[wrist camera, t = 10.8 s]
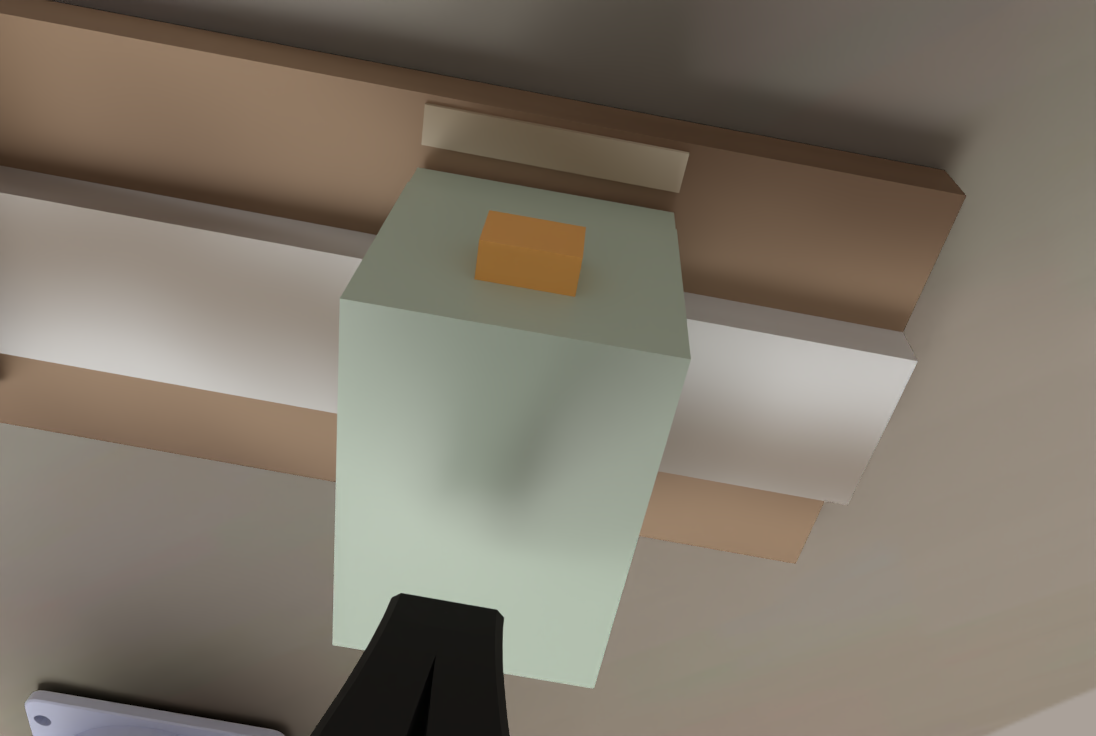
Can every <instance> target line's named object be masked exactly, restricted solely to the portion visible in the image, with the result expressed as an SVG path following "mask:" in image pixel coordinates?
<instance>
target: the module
mask: <svg viewBox="0 0 1096 736" xmlns="http://www.w3.org/2000/svg"><path fill="white" fill-rule="evenodd" d="M690 361H691V355H690V346H689V337H688V328H687V318H686V309H685V300H684V291H683V282H682V273H681V263H680V254H679V245H678V236H677V229H676V227H675V217H674V213H673V212H668V211H662V210H656V209H651V208H645V207H639V206H634V205H628V204H622V203H617V202H611V201H605V200H600V199H594V198H588V197H583V196H577V195H571V194H566V193H560V192H554V191H549V190H543V189H538V188H532V187H526V186H521V185H515V184H509V183H504V182H498V181H492V180H487V179H481V178H475V177H470V176H464V175H458V174H453V173H447V172H441V171H436V170H430V169H424V168H419V167H418V168H417V169H416V171H415V173H414V175H413V176H412V178H411V180H410V181H409V182H407V184H406V186H405V188H404V189H403V191H402V193H401V194H400V196H399V198H398V200H397V201H396V203H395V205H394V206H393V208H392V210H391V211H390V213H389V215H388V217H387V218H386V220H385V222H384V223H383V225H382V227H381V229H380V230H379V232H378V234H377V235H376V237H375V239H374V241H373V242H372V244H371V246H370V247H369V249H368V251H367V253H366V254H365V256H364V258H363V259H362V261H361V263H360V265H359V266H358V268H357V270H356V271H355V273H354V275H353V276H352V278H351V280H350V282H349V283H348V285H347V287H346V288H345V290H344V292H343V294H342V295H341V297H340V305H339V353H338V401H337V450H336V498H335V546H334V594H333V642H332V645H335V646H341V647H347V648H353V649H359V650H365V649H366V648H367V646H368V644H369V642H370V641H371V639H372V637H373V635H374V633H375V631H376V629H377V627H378V625H379V624H380V622H381V620H382V618H383V616H384V614H385V611H386V609H387V607H388V604H389V602H390V600H391V598H392V597H394V596H396V595H398V594H400V593H405V594H411V595H416V596H422V597H428V598H433V599H439V600H445V601H451V602H456V603H462V604H468V605H474V606H479V607H485V608H491V609H496V610H498V611H499V612H500V613H501V615H502V616H503V617H504V625H503V674H509V675H515V676H521V677H527V678H533V679H539V680H545V681H551V682H557V683H563V684H569V685H575V686H581V687H587V688H593V689H594V686H595V683H596V679H597V676H598V673H599V669H600V666H601V663H602V659H603V656H604V652H605V649H606V646H607V642H608V639H609V635H610V632H611V629H612V625H613V622H614V619H615V615H616V612H617V608H618V605H619V602H620V598H621V595H622V591H623V588H624V585H625V581H626V578H627V574H628V571H629V568H630V564H631V561H632V558H633V554H634V551H635V547H636V544H637V541H638V537H639V534H640V530H641V527H642V524H643V520H644V517H645V514H646V510H647V507H648V503H649V500H650V497H651V493H652V490H653V486H654V483H655V480H656V476H657V473H658V469H659V466H660V463H661V459H662V456H663V453H664V449H665V446H666V442H667V439H668V436H669V432H670V429H671V425H672V422H673V419H674V415H675V412H676V409H677V405H678V402H679V398H680V395H681V392H682V388H683V385H684V381H685V378H686V375H687V371H688V368H689V364H690Z"/></svg>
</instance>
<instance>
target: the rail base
mask: <svg viewBox="0 0 1096 736" xmlns="http://www.w3.org/2000/svg"><path fill="white" fill-rule="evenodd" d="M418 167H419V168H424V169H430V170H436V171H441V172H447V173H453V174H458V175H464V176H470V177H475V178H481V179H487V180H492V181H498V182H504V183H509V184H515V185H521V186H526V187H532V188H538V189H543V190H549V191H554V192H560V193H566V194H571V195H577V196H583V197H588V198H594V199H600V200H605V201H611V202H617V203H622V204H628V205H634V206H639V207H645V208H651V209H656V210H662V211H668V212H673V213H674V217H675V227H676V229H677V236H678V245H679V254H680V263H681V273H682V282H683V291H684V300H685V309H686V318H687V328H688V337H689V346H690V355H691V361H690V364H689V368H688V371H687V375H686V378H685V381H684V385H683V388H682V392H681V395H680V398H679V402H678V405H677V409H676V412H675V415H674V419H673V422H672V425H671V429H670V432H669V436H668V439H667V442H666V446H665V449H664V453H663V456H662V459H661V463H660V466H659V469H658V473H657V476H656V480H655V483H654V486H653V490H652V493H651V497H650V500H649V503H648V507H647V510H646V514H645V517H644V520H643V524H642V527H641V530H640V534H639V536H642V537H648V538H654V539H659V540H665V541H670V542H676V543H682V544H687V545H693V546H699V547H704V548H710V549H716V550H721V551H727V552H732V553H738V554H744V555H749V556H755V557H761V558H766V559H772V560H777V561H783V562H789V563H794V564H796V562H797V560H798V557H799V555H800V553H801V551H802V549H803V547H804V544H805V542H806V540H807V538H808V536H809V534H810V532H811V529H812V527H813V525H814V523H815V521H816V519H817V516H818V514H819V512H820V510H821V508H822V506H823V503H824V501H827V502H832V503H838V504H843V505H848V504H849V502H850V500H851V498H852V496H853V494H854V492H855V489H856V487H857V485H858V483H859V481H860V479H861V477H862V475H863V473H864V471H865V469H866V467H867V465H868V463H869V461H870V459H871V457H872V454H873V452H874V450H875V448H876V446H877V444H878V442H879V440H880V438H881V436H882V434H883V432H884V430H885V428H886V426H887V424H888V422H889V419H890V417H891V415H892V413H893V411H894V409H895V407H896V405H897V403H898V401H899V399H900V397H901V395H902V393H903V391H904V389H905V387H906V385H907V382H908V380H909V378H910V376H911V374H912V372H913V370H914V368H915V366H916V364H917V362H918V361H917V359H916V357H915V355H914V353H913V351H912V349H911V347H910V345H909V343H908V341H907V339H906V337H905V335H904V333H903V331H904V329H905V327H906V325H907V322H908V320H909V318H910V316H911V314H912V312H913V309H914V307H915V305H916V303H917V301H918V299H919V297H920V294H921V292H922V290H923V288H924V286H925V284H926V281H927V279H928V277H929V275H930V273H931V271H932V269H933V266H934V264H935V262H936V260H937V258H938V256H939V253H940V251H941V249H942V247H943V245H944V243H945V240H946V238H947V236H948V234H949V232H950V230H951V228H952V225H953V223H954V221H955V219H956V217H957V215H958V212H959V210H960V208H961V206H962V204H963V202H964V200H965V197H966V195H965V194H964V192H963V191H962V190H961V189H960V188H959V187H958V185H957V184H956V183H955V182H954V181H953V180H952V178H951V177H950V176H949V175H948V174H947V172H946V171H945V170H940V169H935V168H929V167H924V166H919V165H914V164H908V163H903V162H898V161H893V160H887V159H882V158H877V157H871V156H866V155H861V154H856V153H850V152H845V151H840V150H835V149H829V148H824V147H819V146H813V145H808V144H803V143H798V142H792V141H787V140H782V139H776V138H771V137H766V136H761V135H755V134H750V133H745V132H740V131H734V130H729V129H724V128H718V127H713V126H708V125H703V124H697V123H692V122H687V121H682V120H676V119H671V118H666V117H660V116H655V115H650V114H645V113H639V112H634V111H629V110H623V109H618V108H613V107H608V106H602V105H597V104H592V103H587V102H581V101H576V100H571V99H565V98H560V97H555V96H550V95H544V94H539V93H534V92H529V91H523V90H518V89H513V88H507V87H502V86H497V85H492V84H486V83H481V82H476V81H470V80H465V79H460V78H455V77H449V76H444V75H439V74H434V73H428V72H423V71H418V70H412V69H407V68H402V67H397V66H391V65H386V64H381V63H375V62H370V61H365V60H360V59H354V58H349V57H344V56H339V55H333V54H328V53H323V52H317V51H312V50H307V49H302V48H296V47H291V46H286V45H281V44H275V43H270V42H265V41H259V40H254V39H249V38H244V37H238V36H233V35H228V34H222V33H217V32H212V31H207V30H201V29H196V28H191V27H186V26H180V25H175V24H170V23H164V22H159V21H154V20H149V19H143V18H138V17H133V16H128V15H122V14H117V13H112V12H106V11H101V10H96V9H91V8H85V7H80V6H75V5H69V4H64V3H59V2H54V1H48V0H0V423H6V424H12V425H17V426H23V427H28V428H34V429H40V430H45V431H51V432H57V433H62V434H68V435H74V436H79V437H85V438H90V439H96V440H102V441H107V442H113V443H119V444H124V445H130V446H135V447H141V448H147V449H152V450H158V451H164V452H169V453H175V454H181V455H186V456H192V457H197V458H203V459H209V460H214V461H220V462H226V463H231V464H237V465H242V466H248V467H254V468H259V469H265V470H271V471H276V472H282V473H288V474H293V475H299V476H304V477H310V478H316V479H321V480H327V481H333V482H336V450H337V401H338V353H339V305H340V297H341V295H342V294H343V292H344V290H345V288H346V287H347V285H348V283H349V282H350V280H351V278H352V276H353V275H354V273H355V271H356V270H357V268H358V266H359V265H360V263H361V261H362V259H363V258H364V256H365V254H366V253H367V251H368V249H369V247H370V246H371V244H372V242H373V241H374V239H375V237H376V235H377V234H378V232H379V230H380V229H381V227H382V225H383V223H384V222H385V220H386V218H387V217H388V215H389V213H390V211H391V210H392V208H393V206H394V205H395V203H396V201H397V200H398V198H399V196H400V194H401V193H402V191H403V189H404V188H405V186H406V184H407V182H409V181H410V180H411V178H412V176H413V175H414V173H415V171H416V169H417V168H418Z"/></svg>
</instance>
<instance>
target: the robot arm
mask: <svg viewBox="0 0 1096 736" xmlns="http://www.w3.org/2000/svg"><path fill="white" fill-rule="evenodd" d="M503 625H504V617H503V616H502V615H501V613H500V612H499V611H498V610H496V609H491V608H485V607H479V606H474V605H468V604H462V603H456V602H451V601H445V600H439V599H433V598H428V597H422V596H416V595H411V594H405V593H400V594H398V595H396V596H394V597H392V598H391V600H390V602H389V604H388V607H387V609H386V611H385V614H384V616H383V618H382V620H381V622H380V624H379V625H378V627H377V629H376V631H375V633H374V635H373V637H372V639H371V641H370V642H369V644H368V646H367V648H366V649H365V651H364V653H363V655H362V656H361V658H360V660H359V661H358V663H357V665H356V666H355V668H354V670H353V671H352V673H351V674H350V676H349V678H348V679H347V681H346V683H345V684H344V686H343V687H342V689H341V691H340V692H339V694H338V695H337V696H336V698H335V699H334V701H333V702H332V704H331V705H330V707H329V708H328V710H327V711H326V713H325V714H324V716H323V717H322V719H321V720H320V722H319V723H318V725H317V726H316V728H315V729H314V731H313V732H312V734H311V735H310V736H510V735H509V727H508V720H507V710H506V700H505V689H504V675H503ZM25 710H26V713H27V717H28V720H29V724H30V727H31V731H32V734H33V736H285V735H284V734H283V733H281V732H279V731H277V730H273V729H268V728H262V727H256V726H250V725H245V724H239V723H233V722H227V721H221V720H215V719H209V718H203V717H198V716H192V715H186V714H180V713H174V712H168V711H162V710H156V709H151V708H145V707H139V706H133V705H127V704H121V703H115V702H109V701H104V700H98V699H92V698H86V697H80V696H74V695H68V694H63V693H57V692H51V691H45V690H38V691H35V692H33V693H31V694H30V696H29V697H28V699H27V700H26V702H25Z"/></svg>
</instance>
